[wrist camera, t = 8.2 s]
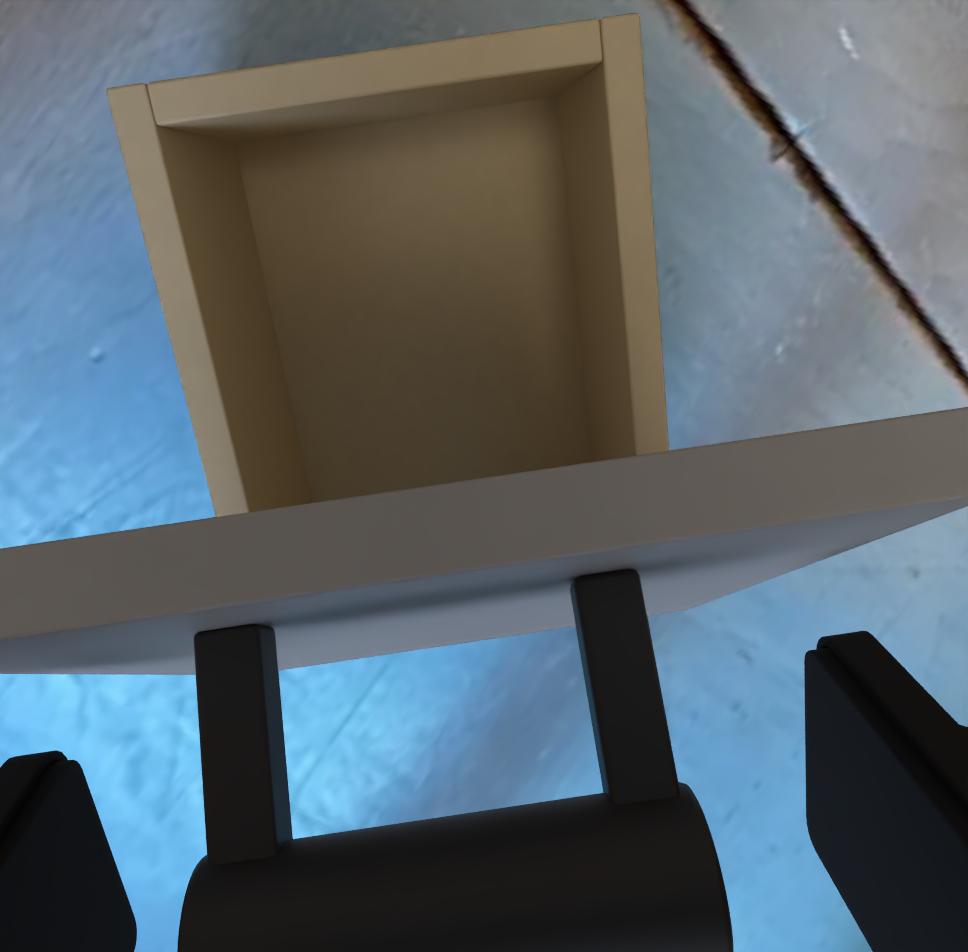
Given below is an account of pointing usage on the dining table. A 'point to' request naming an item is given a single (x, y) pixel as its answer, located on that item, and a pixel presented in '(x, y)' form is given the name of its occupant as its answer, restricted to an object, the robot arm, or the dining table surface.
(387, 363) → the box
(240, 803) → the lid
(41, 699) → the dining table surface
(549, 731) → the dining table surface
